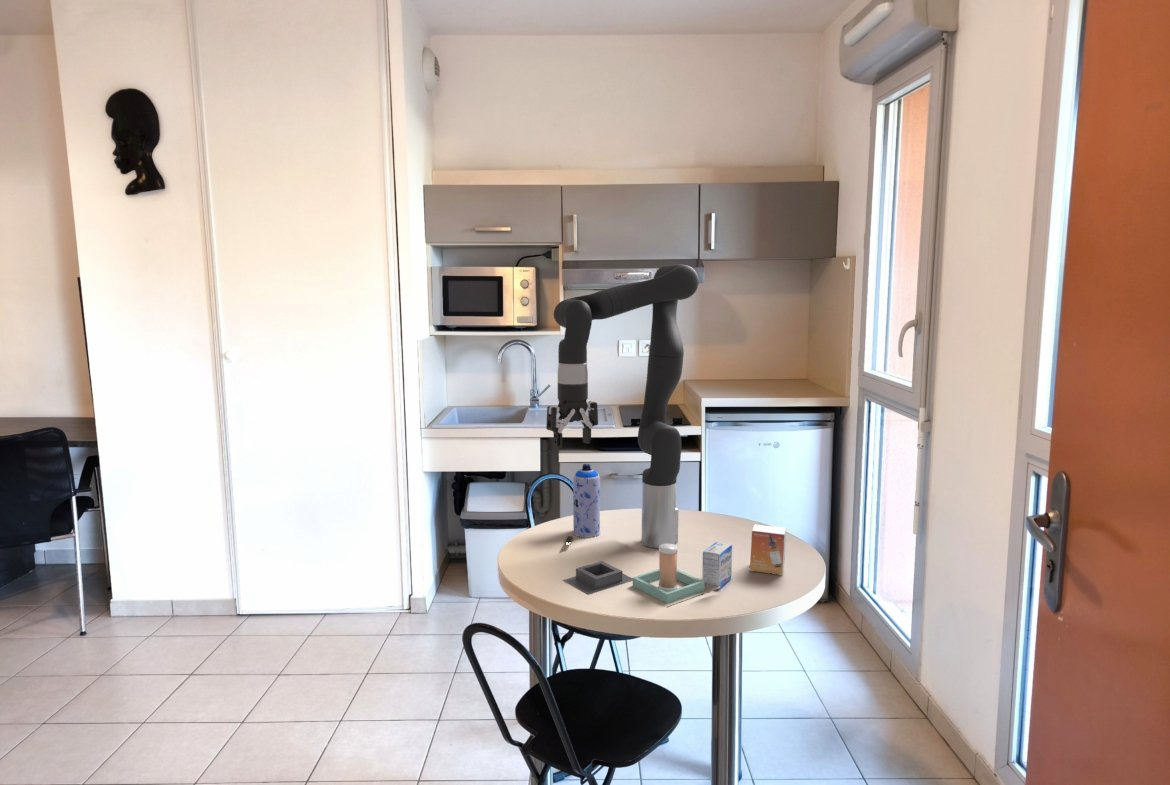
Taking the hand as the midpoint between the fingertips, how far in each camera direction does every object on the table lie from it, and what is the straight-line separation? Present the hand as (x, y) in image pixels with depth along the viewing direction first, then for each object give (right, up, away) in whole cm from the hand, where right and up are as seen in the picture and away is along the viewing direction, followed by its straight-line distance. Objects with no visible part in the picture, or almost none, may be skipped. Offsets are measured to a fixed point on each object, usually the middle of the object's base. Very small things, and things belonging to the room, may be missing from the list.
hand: (572, 445), depth 181 cm
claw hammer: (-2, -30, +9) cm, 31 cm away
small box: (+48, -31, -2) cm, 57 cm away
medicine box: (+34, -32, -10) cm, 48 cm away
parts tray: (+22, -33, -15) cm, 42 cm away
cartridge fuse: (+22, -32, -15) cm, 42 cm away
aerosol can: (+4, -27, +24) cm, 37 cm away
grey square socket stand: (+6, -32, -11) cm, 34 cm away
